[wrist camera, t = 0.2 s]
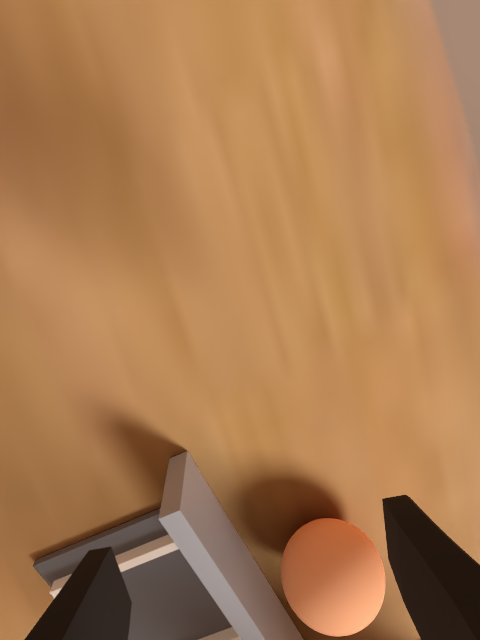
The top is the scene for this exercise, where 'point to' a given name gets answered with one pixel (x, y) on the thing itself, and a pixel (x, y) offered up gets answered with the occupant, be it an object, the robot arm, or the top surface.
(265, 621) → the grey wall
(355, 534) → the coral ball
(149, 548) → the mat
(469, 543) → the top surface
